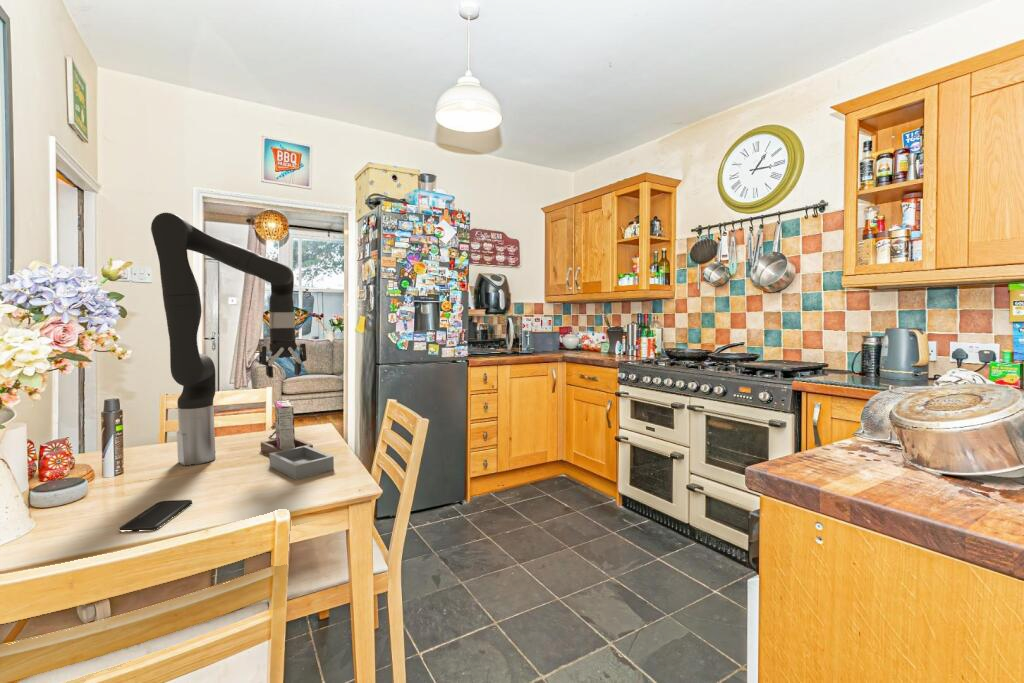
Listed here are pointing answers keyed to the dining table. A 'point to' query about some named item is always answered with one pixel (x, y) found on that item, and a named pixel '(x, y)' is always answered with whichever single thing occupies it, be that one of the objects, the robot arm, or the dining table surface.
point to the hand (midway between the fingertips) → (284, 376)
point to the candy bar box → (284, 425)
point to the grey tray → (301, 462)
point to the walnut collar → (272, 447)
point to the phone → (156, 515)
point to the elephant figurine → (273, 428)
